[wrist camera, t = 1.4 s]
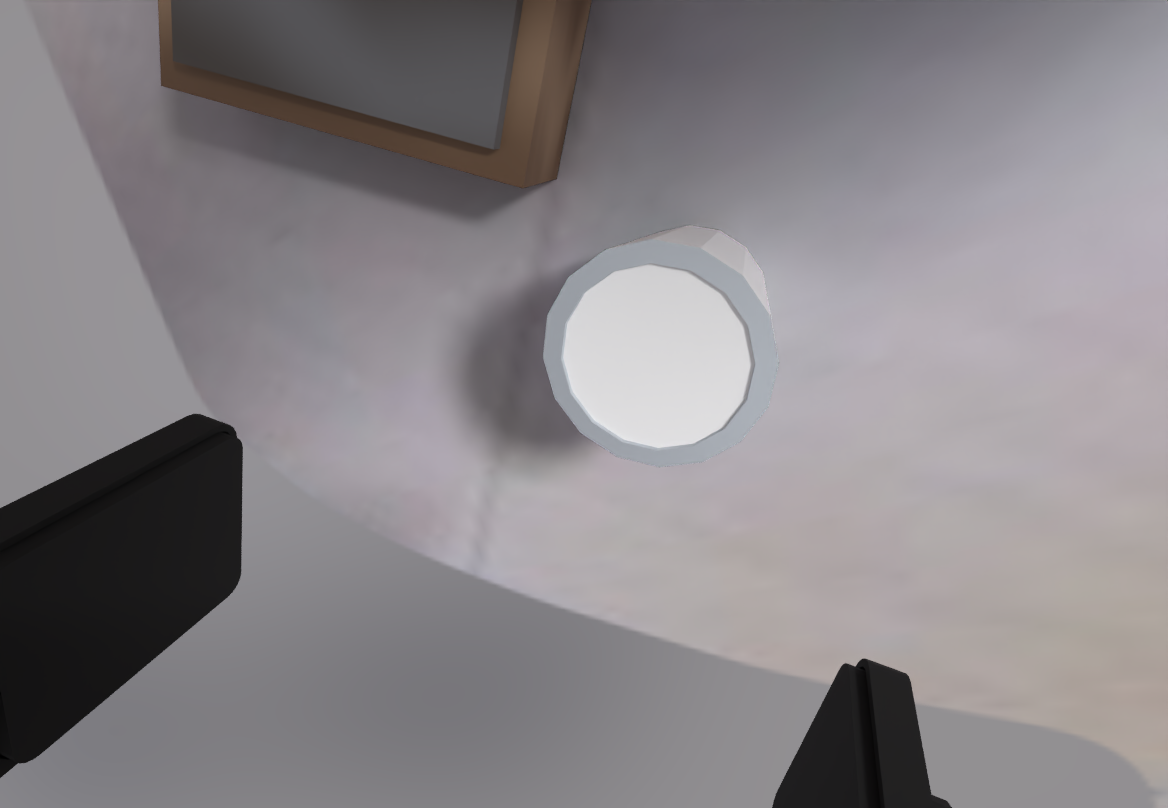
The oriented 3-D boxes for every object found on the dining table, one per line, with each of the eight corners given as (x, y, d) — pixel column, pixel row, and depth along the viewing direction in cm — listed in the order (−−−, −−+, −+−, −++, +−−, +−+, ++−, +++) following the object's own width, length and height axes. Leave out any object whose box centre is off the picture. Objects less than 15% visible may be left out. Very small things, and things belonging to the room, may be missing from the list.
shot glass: (606, 385, 29) (551, 461, 23) (595, 210, 26) (530, 242, 20) (782, 391, 27) (775, 477, 21) (789, 203, 24) (783, 236, 18)
